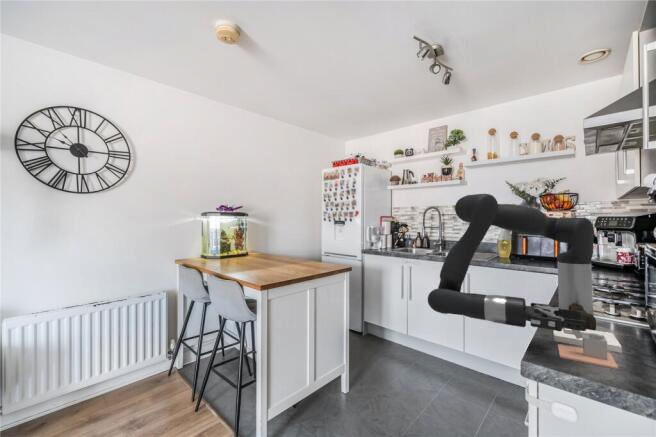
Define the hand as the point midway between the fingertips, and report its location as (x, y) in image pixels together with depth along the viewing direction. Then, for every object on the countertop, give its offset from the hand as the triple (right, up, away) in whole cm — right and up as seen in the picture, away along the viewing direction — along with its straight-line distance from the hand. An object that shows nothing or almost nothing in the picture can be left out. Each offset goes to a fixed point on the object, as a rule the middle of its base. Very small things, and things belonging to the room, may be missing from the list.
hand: (583, 320), depth 70 cm
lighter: (+1, -8, 0) cm, 8 cm away
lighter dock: (+8, -8, +9) cm, 15 cm away
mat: (0, -9, 0) cm, 9 cm away
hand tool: (+19, -9, +21) cm, 30 cm away
